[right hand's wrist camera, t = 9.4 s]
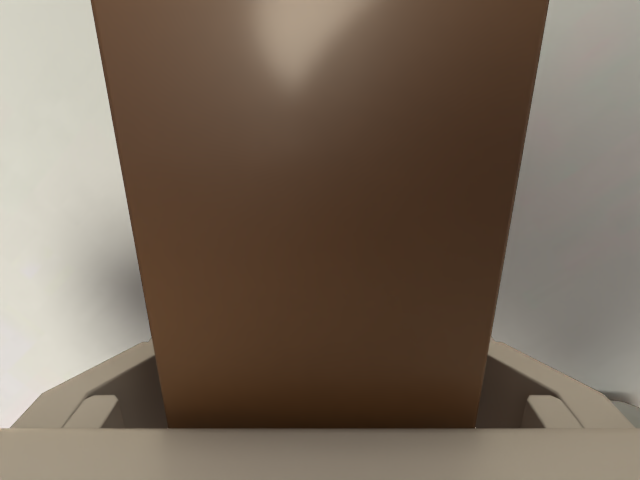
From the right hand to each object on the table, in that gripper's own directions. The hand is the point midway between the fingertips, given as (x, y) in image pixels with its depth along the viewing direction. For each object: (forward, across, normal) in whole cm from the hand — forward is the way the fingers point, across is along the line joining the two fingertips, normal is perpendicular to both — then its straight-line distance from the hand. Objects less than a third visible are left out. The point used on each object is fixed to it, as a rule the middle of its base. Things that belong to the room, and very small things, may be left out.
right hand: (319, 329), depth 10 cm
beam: (+3, 0, -24) cm, 24 cm away
